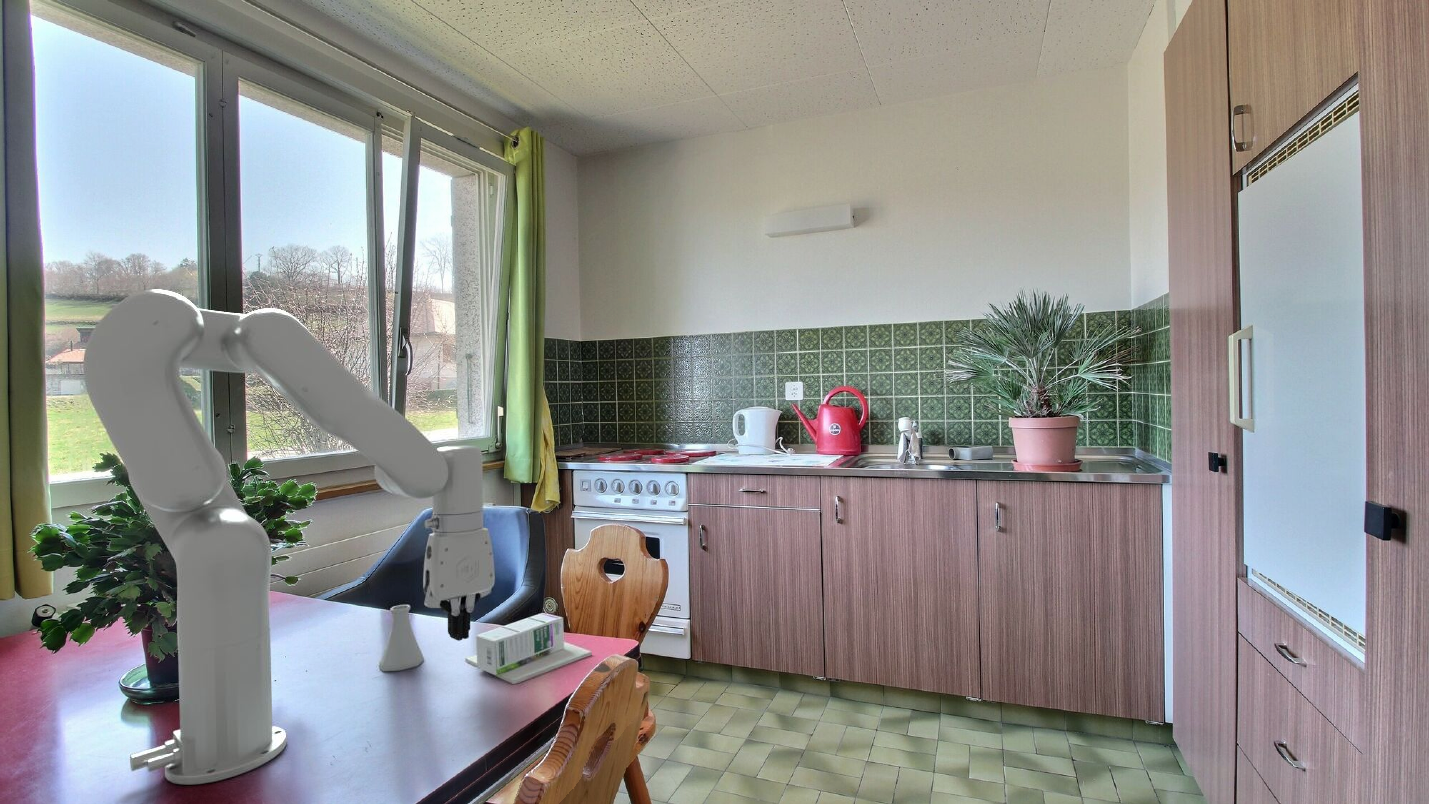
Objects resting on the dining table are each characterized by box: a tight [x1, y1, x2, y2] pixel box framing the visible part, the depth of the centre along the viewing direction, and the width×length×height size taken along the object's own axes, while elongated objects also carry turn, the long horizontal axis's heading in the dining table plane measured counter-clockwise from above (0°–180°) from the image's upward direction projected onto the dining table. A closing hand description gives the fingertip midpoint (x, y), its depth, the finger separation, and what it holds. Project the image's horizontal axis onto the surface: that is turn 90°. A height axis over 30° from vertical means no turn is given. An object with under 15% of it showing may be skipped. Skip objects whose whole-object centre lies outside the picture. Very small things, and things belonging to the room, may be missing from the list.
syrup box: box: [475, 612, 565, 676], centre depth 115 cm, size 6×6×14 cm
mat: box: [464, 641, 592, 685], centre depth 116 cm, size 16×16×1 cm
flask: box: [378, 604, 425, 672], centre depth 115 cm, size 7×7×10 cm
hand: (459, 637), depth 105 cm, fingers closed
